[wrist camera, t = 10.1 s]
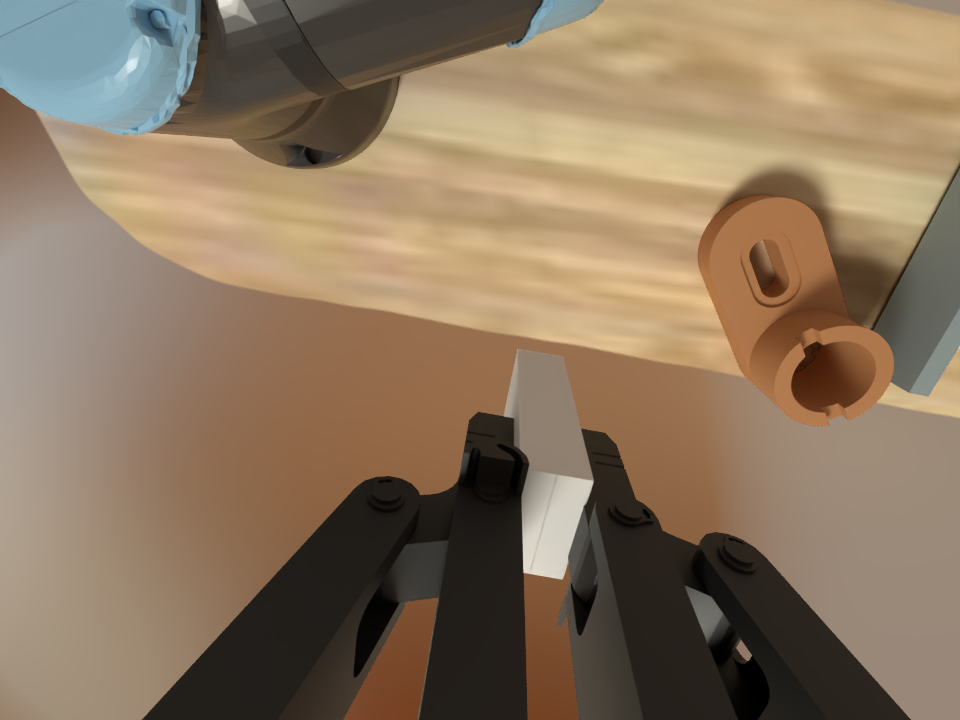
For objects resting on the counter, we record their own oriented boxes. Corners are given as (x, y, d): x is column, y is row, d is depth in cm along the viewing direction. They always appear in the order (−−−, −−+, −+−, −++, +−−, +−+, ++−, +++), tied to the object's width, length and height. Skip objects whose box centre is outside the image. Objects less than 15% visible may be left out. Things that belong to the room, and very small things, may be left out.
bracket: (846, 362, 42) (905, 398, 36) (752, 401, 44) (792, 441, 38) (786, 174, 37) (842, 177, 30) (681, 228, 39) (715, 241, 32)
